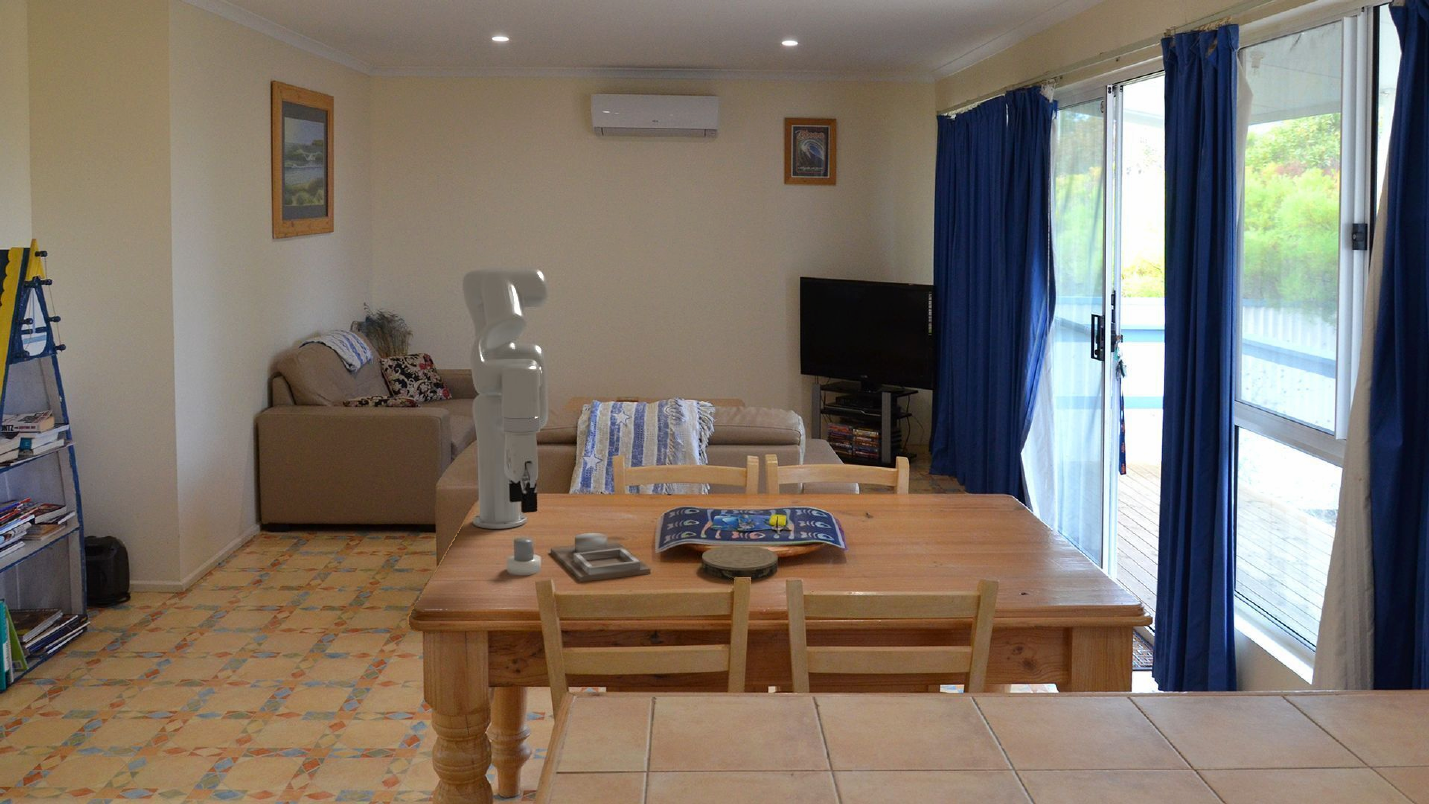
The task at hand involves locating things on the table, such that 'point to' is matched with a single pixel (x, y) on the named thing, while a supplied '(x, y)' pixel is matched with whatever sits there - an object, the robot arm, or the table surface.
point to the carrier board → (598, 558)
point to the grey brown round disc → (739, 562)
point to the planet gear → (523, 558)
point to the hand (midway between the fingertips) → (523, 506)
